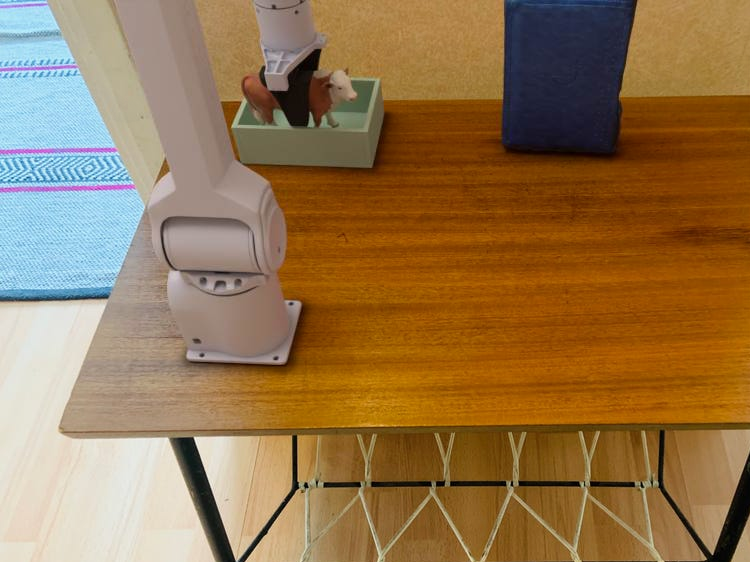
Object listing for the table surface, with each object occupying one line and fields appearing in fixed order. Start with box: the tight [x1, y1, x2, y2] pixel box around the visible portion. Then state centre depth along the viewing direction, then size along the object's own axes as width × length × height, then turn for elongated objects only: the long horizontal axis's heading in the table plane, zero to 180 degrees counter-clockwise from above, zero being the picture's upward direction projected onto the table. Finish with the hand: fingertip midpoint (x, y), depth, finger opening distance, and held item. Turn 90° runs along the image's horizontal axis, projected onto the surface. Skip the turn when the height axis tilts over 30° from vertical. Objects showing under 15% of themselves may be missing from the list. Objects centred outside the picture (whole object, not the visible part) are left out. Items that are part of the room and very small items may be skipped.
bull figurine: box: [240, 67, 357, 128], centre depth 88 cm, size 4×13×8 cm, turn 82°
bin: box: [230, 76, 385, 169], centre depth 94 cm, size 16×11×5 cm
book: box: [500, 0, 639, 154], centre depth 87 cm, size 14×5×20 cm, turn 86°
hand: (303, 112), depth 90 cm, fingers closed on bull figurine, 4 cm apart
